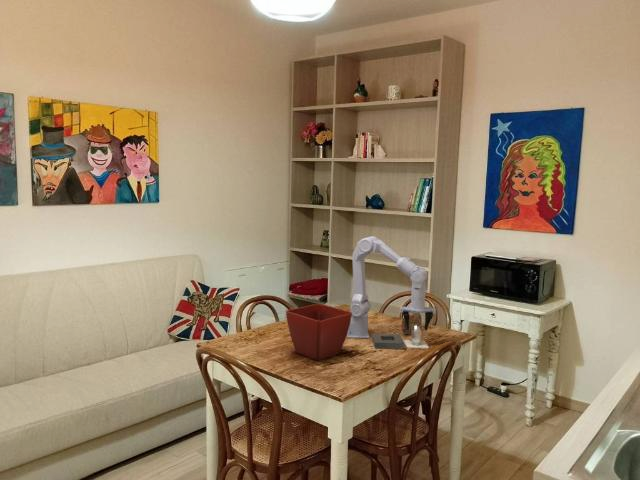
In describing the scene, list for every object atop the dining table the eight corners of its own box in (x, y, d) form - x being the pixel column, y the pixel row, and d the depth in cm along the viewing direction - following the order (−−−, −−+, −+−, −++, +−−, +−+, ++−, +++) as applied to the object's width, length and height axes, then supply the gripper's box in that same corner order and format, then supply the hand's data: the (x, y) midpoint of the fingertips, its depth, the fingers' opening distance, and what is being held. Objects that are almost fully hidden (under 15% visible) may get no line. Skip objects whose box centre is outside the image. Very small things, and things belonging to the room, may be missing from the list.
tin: (406, 336, 227) (407, 318, 226) (400, 335, 229) (400, 316, 228) (421, 329, 239) (422, 311, 238) (415, 327, 241) (416, 310, 240)
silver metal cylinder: (412, 345, 214) (412, 326, 213) (410, 342, 218) (411, 323, 217) (421, 345, 214) (422, 326, 213) (420, 342, 218) (420, 323, 217)
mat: (407, 348, 212) (407, 347, 212) (403, 341, 221) (403, 340, 221) (429, 348, 212) (429, 347, 212) (424, 341, 221) (424, 340, 221)
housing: (374, 348, 210) (374, 342, 210) (371, 339, 222) (372, 333, 222) (404, 349, 210) (404, 343, 210) (399, 339, 222) (399, 334, 222)
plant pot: (352, 353, 203) (353, 312, 201) (318, 365, 190) (319, 321, 188) (318, 342, 217) (319, 303, 215) (284, 352, 203) (284, 310, 201)
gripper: (402, 299, 210) (400, 331, 211) (437, 300, 210) (436, 332, 211) (399, 295, 217) (398, 326, 218) (434, 296, 217) (432, 327, 218)
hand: (416, 329), depth 215 cm, fingers open, 7 cm apart
